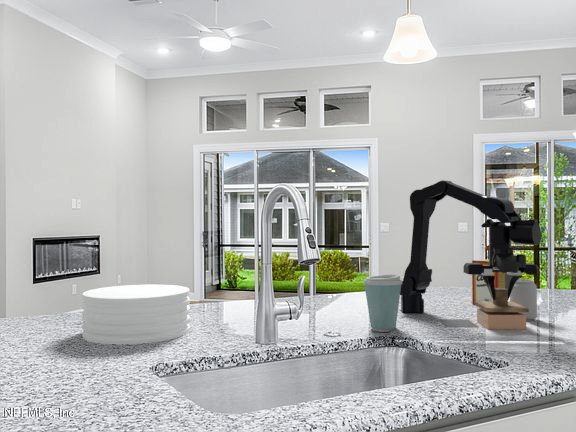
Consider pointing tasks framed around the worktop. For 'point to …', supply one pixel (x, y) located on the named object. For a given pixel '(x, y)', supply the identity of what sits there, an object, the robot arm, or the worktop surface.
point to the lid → (501, 303)
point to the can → (525, 297)
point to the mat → (457, 323)
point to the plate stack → (135, 314)
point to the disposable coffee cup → (383, 301)
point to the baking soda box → (480, 287)
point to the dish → (501, 320)
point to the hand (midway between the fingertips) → (500, 299)
